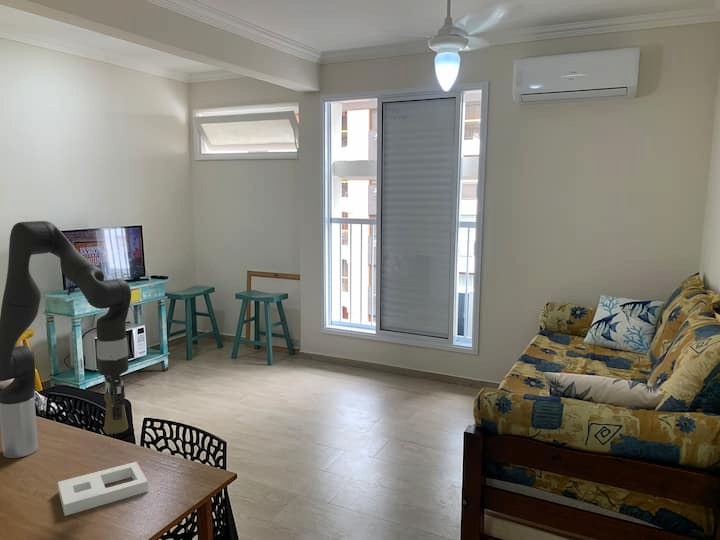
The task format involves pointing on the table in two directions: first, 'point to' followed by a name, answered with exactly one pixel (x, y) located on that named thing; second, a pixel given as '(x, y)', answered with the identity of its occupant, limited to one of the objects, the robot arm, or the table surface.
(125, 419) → the olive knobbed peg
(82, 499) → the socket board
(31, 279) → the robot arm
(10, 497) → the table surface
